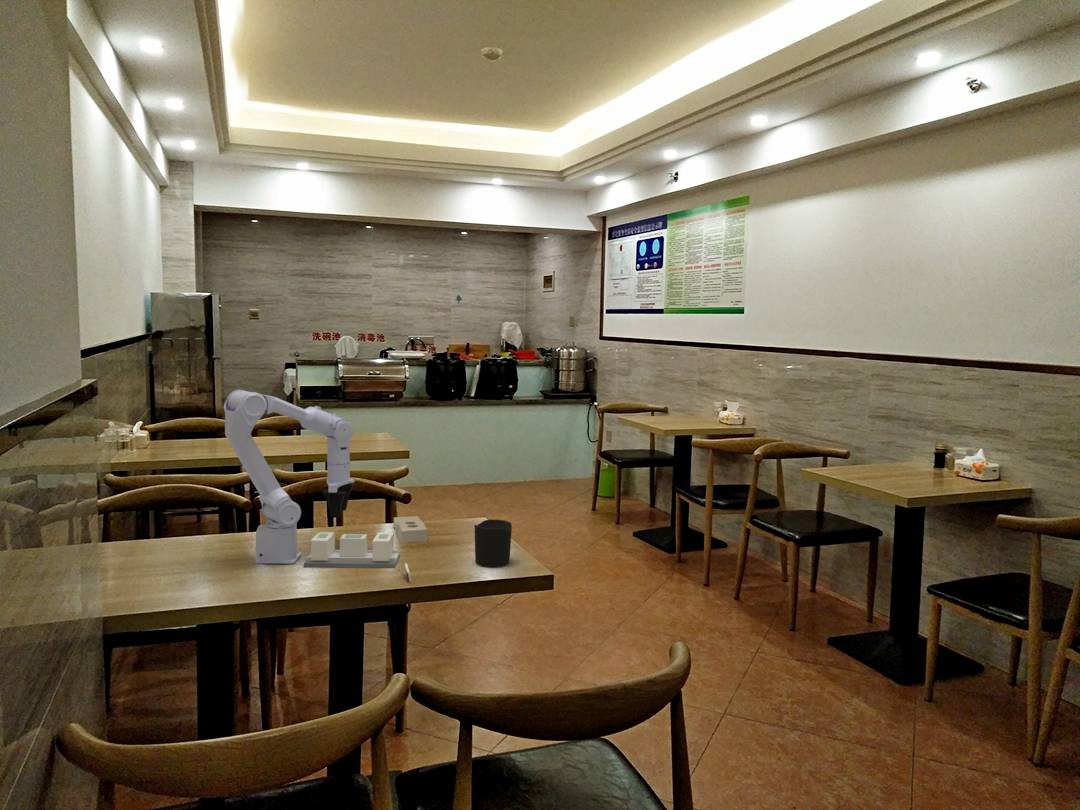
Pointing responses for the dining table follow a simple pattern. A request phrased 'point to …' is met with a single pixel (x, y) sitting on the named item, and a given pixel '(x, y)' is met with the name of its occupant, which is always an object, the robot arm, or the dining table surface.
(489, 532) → the pen holder
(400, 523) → the electrical outlet
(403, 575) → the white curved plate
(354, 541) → the block
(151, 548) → the dining table surface
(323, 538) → the grey stepped base
